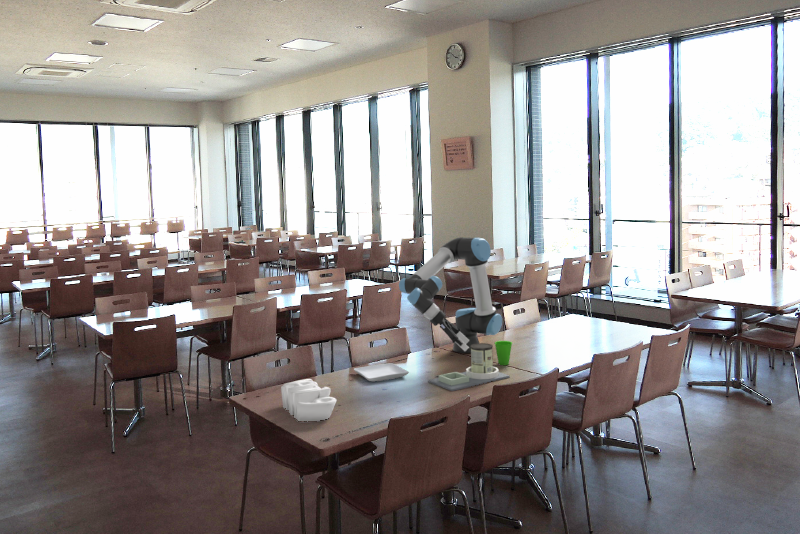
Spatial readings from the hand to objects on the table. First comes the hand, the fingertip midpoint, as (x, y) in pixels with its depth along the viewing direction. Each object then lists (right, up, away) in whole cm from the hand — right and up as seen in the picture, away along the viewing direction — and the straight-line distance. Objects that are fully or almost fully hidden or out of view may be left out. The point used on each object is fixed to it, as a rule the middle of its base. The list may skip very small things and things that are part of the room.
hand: (467, 346), depth 318 cm
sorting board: (+1, -15, -3) cm, 16 cm away
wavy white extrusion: (-70, -22, -41) cm, 84 cm away
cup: (+21, -12, +23) cm, 33 cm away
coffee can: (+7, -14, +1) cm, 16 cm away
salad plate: (-41, -16, +8) cm, 45 cm away
